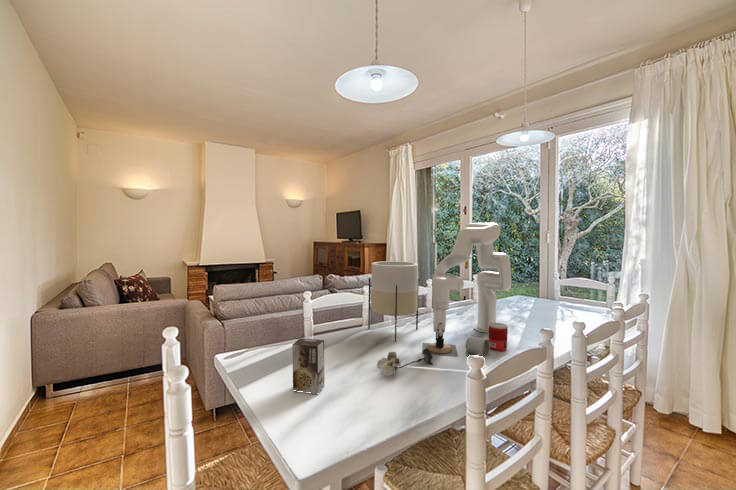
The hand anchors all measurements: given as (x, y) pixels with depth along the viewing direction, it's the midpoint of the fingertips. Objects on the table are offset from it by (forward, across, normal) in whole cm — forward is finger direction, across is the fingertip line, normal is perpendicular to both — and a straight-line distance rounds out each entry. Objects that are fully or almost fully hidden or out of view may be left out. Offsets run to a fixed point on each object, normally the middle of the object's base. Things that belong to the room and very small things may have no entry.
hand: (439, 343), depth 152 cm
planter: (+3, -20, -24) cm, 31 cm away
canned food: (+3, -8, +26) cm, 27 cm away
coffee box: (+3, +46, -44) cm, 64 cm away
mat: (+3, 0, 0) cm, 3 cm away
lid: (+3, 0, 0) cm, 3 cm away
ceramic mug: (+3, +3, +16) cm, 16 cm away
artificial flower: (+4, +23, -13) cm, 27 cm away
